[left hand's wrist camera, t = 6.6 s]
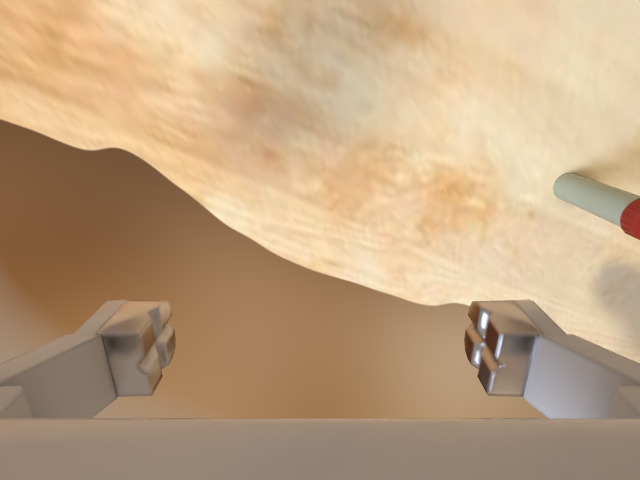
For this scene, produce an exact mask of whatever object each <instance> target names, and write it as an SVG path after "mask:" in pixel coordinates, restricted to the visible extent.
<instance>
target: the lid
mask: <svg viewBox="0 0 640 480" xmlns="http://www.w3.org/2000/svg"><path fill="white" fill-rule="evenodd" d="M620 225H621V228H622V229H623V231H624V233H626V234H628V235H630V236H633V237H635V238H637V239H639V240H640V198H638V199H636V200H634V201H632V202H631V203H630V204H629V205H628V206H627V207H626V208H625V209H624V210H623V212H622V214H621V218H620Z"/></svg>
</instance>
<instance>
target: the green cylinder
mask: <svg viewBox="0 0 640 480" xmlns="http://www.w3.org/2000/svg"><path fill="white" fill-rule="evenodd" d="M554 194H555V195H556V196H557V197H558V198H560V199H562V200H564V201H566V202H568V203H570V204H573V205H575V206H577V207H579V208H581V209H583V210H585V211H588V212H590V213H592V214H594V215H596V216H598V217H600V218H603V219H605V220H607V221H609V222H611V223H613V224H615V225H618V226H620V227H621V225H620V218H621V214H622V212H623V210H624V209H625V208H626V207H627V206H628V205H629V204H630V203H631V202H632V201H634V200H636V199H638V198H640V196H638V195H635V194H632V193H629V192H626V191H623V190H620V189H617V188H615V187H612V186H609V185H606V184H603V183H600V182H597V181H594V180H591V179H588V178H585V177H582V176H580V175H577V174H574V173H567V174H564V175H562V176H561V177H559V178H558V179H557V181H556V182H555V184H554Z"/></svg>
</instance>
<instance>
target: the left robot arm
mask: <svg viewBox="0 0 640 480" xmlns="http://www.w3.org/2000/svg"><path fill="white" fill-rule="evenodd" d="M171 316H172V314H171V309H170V305H169V303H168V302H167V301H144V300H110V301H106V302H105V303H104V304H103V305H102V306H101V307H100V308H99V309H98V310H97V311H96V312H95V313H94V314H93V315H92V316H91V317H90V318H89V319H88V320H87V321H86V322H85V323H84V324H83V325H82V326H81V327H80V328H79V329H78V330H77V331H76V332H75V333H74V334H73V335H65V336H62V337H60V338H58V339H56V340H53V341H51V342H49V343H46V344H44V345H42V346H40V347H37V348H35V349H33V350H30V351H28V352H26V353H24V354H21V355H19V356H17V357H14V358H12V359H10V360H8V361H5V362H3V363H1V364H0V480H640V364H639V363H637V362H635V361H632V360H630V359H628V358H625V357H623V356H621V355H619V354H616V353H614V352H612V351H609V350H607V349H605V348H603V347H600V346H598V345H596V344H593V343H591V342H589V341H587V340H584V339H582V338H580V337H578V336H575V335H567V334H566V333H565V332H564V331H563V330H562V329H561V328H560V327H559V326H558V325H557V324H556V323H555V322H554V321H553V320H552V319H551V318H550V317H549V316H548V315H547V314H546V313H545V312H544V311H543V310H542V309H541V308H540V307H539V306H538V305H537V304H536V303H535V302H534V301H531V300H508V301H474V302H472V303H471V305H470V308H469V314H468V316H469V317H470V319H471V320H472V322H473V323H472V324H471V325H470V326H469V327H468V328H467V329H466V332H465V340H464V341H465V351H466V354H467V358H468V360H469V361H470V363H471V365H473V366H474V367H476V368H477V369H479V372H478V378H479V380H480V382H481V384H482V385H483V387H484V389H485V391H486V393H487V394H488V396H515V397H523V399H525V400H526V401H527V402H528V403H530V404H531V405H532V406H533V407H535V408H536V409H537V410H539V411H540V412H541V413H542V414H544V415H545V416H546V417H548V418H93V417H94V416H95V415H96V414H98V413H99V412H100V411H102V410H103V409H104V408H105V407H107V406H108V405H109V404H111V403H112V402H113V401H114V400H116V399H117V397H124V396H152V394H153V393H154V391H155V389H156V387H157V385H158V384H159V382H160V380H161V378H162V372H161V369H163V368H164V367H166V366H167V365H169V363H170V361H171V359H172V357H173V354H174V350H175V332H174V329H173V328H172V327H171V326H170V325H169V324H168V323H167V322H168V320H169V319H170V317H171Z"/></svg>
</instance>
